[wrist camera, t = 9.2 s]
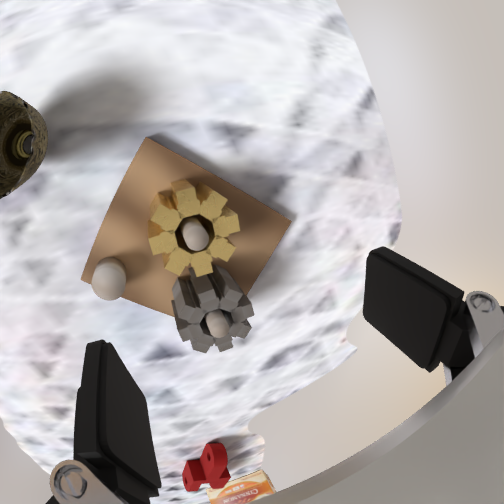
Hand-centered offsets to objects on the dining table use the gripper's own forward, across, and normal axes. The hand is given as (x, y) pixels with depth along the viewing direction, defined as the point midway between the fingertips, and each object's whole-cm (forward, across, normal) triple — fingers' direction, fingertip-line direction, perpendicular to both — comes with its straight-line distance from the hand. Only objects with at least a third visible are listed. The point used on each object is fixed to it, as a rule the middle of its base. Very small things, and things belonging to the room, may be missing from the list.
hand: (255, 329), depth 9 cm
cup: (+19, +13, -10) cm, 25 cm away
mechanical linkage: (+18, +10, +45) cm, 50 cm away
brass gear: (+17, 0, +1) cm, 17 cm away
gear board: (+18, +1, +4) cm, 19 cm away
